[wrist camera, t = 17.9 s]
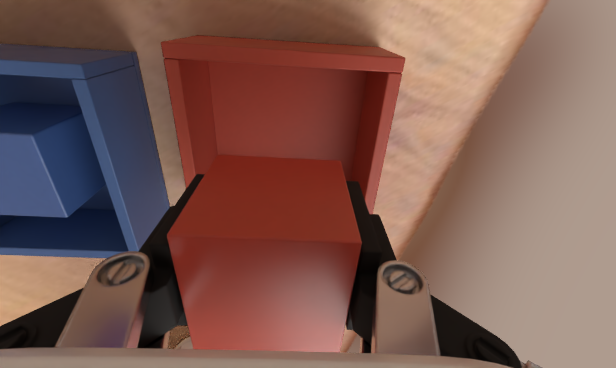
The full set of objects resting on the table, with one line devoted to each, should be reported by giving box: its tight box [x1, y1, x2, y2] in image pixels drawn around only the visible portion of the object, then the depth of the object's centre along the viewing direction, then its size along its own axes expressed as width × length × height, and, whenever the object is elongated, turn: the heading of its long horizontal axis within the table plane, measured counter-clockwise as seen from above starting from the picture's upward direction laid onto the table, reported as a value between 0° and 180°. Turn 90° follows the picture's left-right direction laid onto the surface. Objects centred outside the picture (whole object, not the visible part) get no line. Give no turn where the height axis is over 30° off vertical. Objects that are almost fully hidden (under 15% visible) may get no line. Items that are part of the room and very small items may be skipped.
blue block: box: [0, 102, 106, 217], centre depth 15 cm, size 4×4×4 cm
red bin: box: [161, 35, 405, 214], centre depth 16 cm, size 11×10×4 cm
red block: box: [167, 155, 362, 353], centre depth 10 cm, size 4×4×4 cm
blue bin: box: [0, 43, 170, 258], centre depth 16 cm, size 11×10×4 cm
